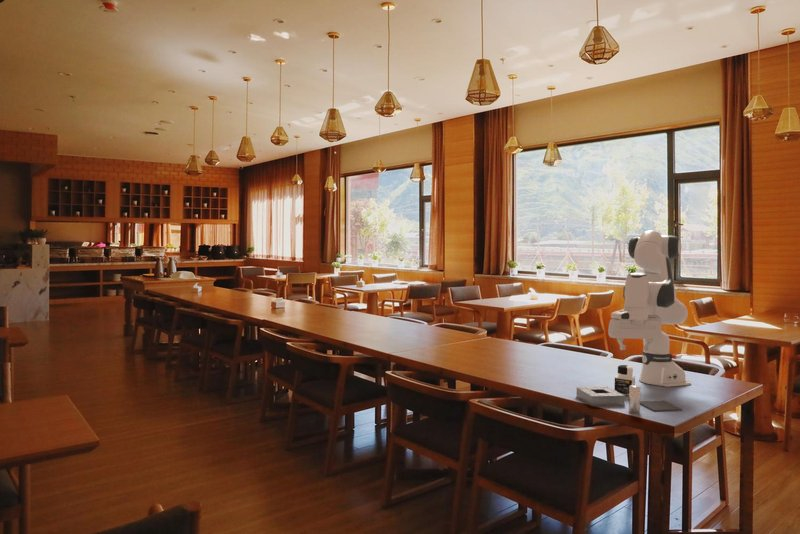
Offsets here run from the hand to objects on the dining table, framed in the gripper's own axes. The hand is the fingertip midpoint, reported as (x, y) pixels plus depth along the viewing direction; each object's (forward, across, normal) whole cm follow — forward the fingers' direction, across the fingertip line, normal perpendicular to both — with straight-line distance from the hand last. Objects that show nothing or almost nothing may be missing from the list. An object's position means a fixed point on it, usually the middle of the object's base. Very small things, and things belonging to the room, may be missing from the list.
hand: (634, 350), depth 215 cm
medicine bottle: (+23, -11, -27) cm, 38 cm away
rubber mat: (+24, -15, -6) cm, 29 cm away
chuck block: (+24, +6, -16) cm, 29 cm away
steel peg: (+24, -1, 0) cm, 24 cm away
